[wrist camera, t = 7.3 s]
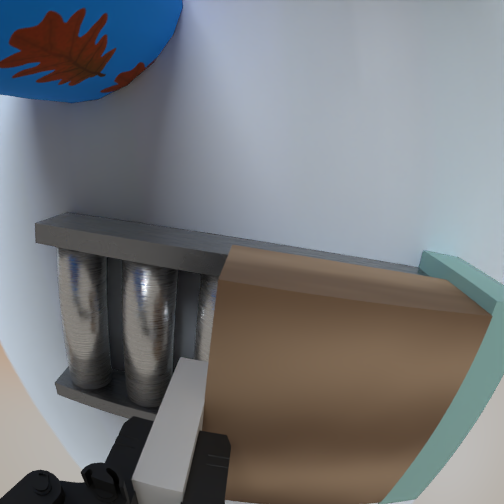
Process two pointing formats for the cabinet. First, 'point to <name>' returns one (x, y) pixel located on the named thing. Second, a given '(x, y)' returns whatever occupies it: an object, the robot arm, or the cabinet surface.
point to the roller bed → (139, 302)
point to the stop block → (475, 383)
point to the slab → (331, 374)
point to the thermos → (80, 45)
